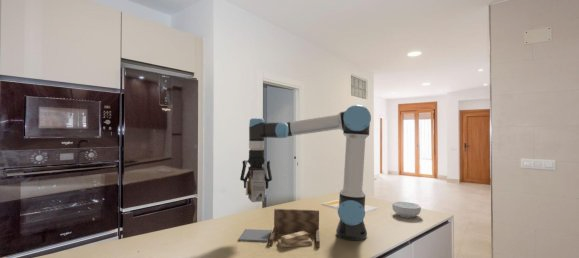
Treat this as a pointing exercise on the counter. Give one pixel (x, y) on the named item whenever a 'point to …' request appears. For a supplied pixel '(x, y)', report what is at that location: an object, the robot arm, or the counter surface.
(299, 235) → the upper offcut
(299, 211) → the walnut rack
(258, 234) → the slate mat
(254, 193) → the coffee box
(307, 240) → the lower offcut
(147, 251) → the counter surface
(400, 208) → the cereal bowl
